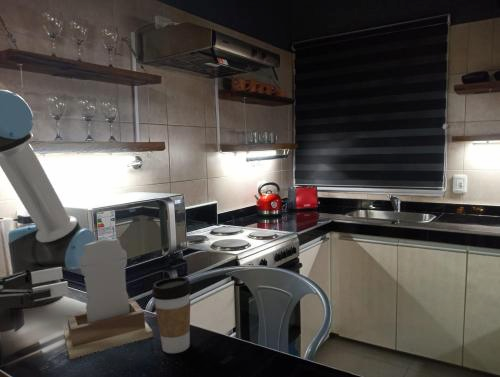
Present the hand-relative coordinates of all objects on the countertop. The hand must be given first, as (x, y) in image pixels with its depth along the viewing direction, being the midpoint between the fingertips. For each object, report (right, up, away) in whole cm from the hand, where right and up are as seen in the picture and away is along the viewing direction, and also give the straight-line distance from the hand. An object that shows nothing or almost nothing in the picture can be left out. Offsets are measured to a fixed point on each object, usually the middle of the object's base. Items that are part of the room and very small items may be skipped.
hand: (65, 279), depth 92 cm
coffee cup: (+26, -15, -2) cm, 29 cm away
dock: (+8, -15, +5) cm, 17 cm away
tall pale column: (+8, -13, +5) cm, 17 cm away
